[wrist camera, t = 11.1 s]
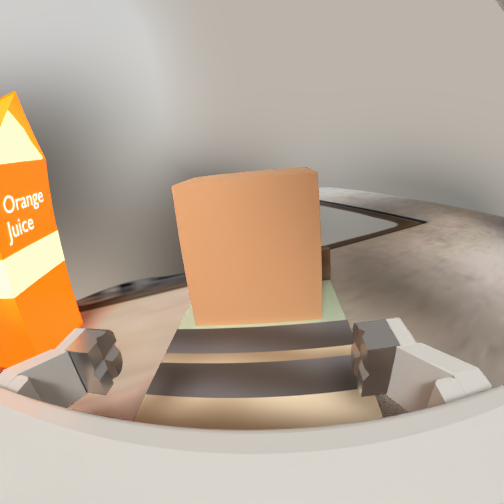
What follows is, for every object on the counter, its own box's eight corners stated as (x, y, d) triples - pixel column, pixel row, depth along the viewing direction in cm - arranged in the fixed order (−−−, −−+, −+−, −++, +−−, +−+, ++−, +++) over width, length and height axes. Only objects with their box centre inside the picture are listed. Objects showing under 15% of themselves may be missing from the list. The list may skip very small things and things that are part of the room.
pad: (346, 326, 21) (346, 319, 21) (179, 335, 22) (177, 329, 22) (330, 286, 27) (330, 279, 27) (198, 294, 28) (197, 288, 28)
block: (322, 319, 21) (317, 172, 18) (195, 326, 22) (171, 185, 19) (312, 284, 27) (306, 167, 24) (210, 290, 28) (194, 177, 24)
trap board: (401, 496, 8) (428, 450, 7) (109, 493, 9) (71, 448, 8) (328, 281, 28) (327, 245, 27) (201, 290, 29) (195, 255, 28)
